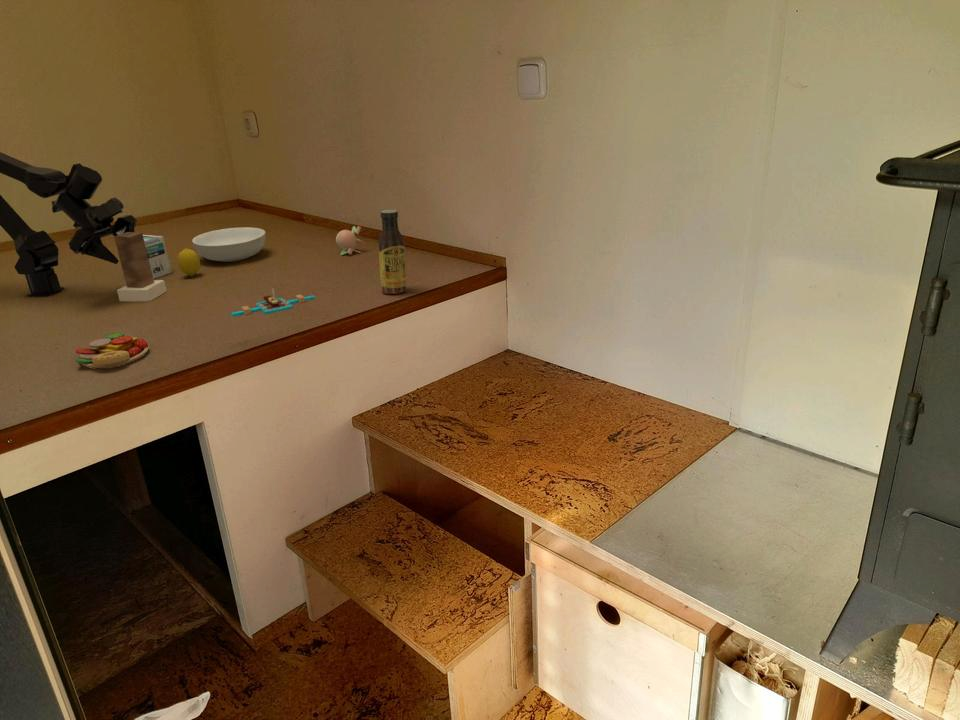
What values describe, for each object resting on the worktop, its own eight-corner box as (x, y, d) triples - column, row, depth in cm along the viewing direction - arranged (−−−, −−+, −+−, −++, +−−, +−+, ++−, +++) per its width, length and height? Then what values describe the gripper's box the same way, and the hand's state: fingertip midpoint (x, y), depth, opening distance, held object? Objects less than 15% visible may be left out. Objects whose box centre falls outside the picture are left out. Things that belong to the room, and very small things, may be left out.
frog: (371, 234, 207) (359, 233, 213) (350, 220, 202) (338, 219, 207) (358, 263, 206) (345, 262, 211) (336, 250, 200) (324, 249, 206)
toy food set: (111, 376, 132) (107, 360, 131) (62, 368, 137) (57, 353, 135) (164, 349, 143) (160, 335, 142) (116, 343, 148) (112, 329, 147)
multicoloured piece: (226, 312, 164) (236, 323, 157) (222, 290, 162) (232, 300, 155) (307, 294, 174) (320, 304, 167) (304, 274, 172) (317, 282, 164)
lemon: (195, 279, 188) (189, 251, 185) (177, 279, 189) (170, 250, 186) (206, 273, 193) (200, 245, 190) (188, 273, 194) (182, 245, 191)
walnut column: (127, 287, 174) (113, 236, 169) (139, 282, 178) (126, 232, 173) (142, 288, 173) (129, 236, 168) (154, 282, 177) (142, 232, 172)
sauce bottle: (387, 297, 167) (378, 215, 159) (378, 290, 172) (369, 210, 164) (412, 292, 170) (404, 211, 162) (402, 285, 175) (395, 207, 167)
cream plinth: (119, 301, 173) (116, 290, 172) (138, 291, 181) (135, 280, 179) (149, 301, 172) (146, 290, 171) (166, 291, 180) (164, 280, 178)
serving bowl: (181, 265, 203) (176, 242, 200) (229, 247, 221) (225, 225, 218) (237, 270, 196) (233, 246, 193) (283, 250, 213) (279, 228, 210)
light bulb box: (172, 272, 196) (164, 235, 191) (153, 279, 190) (144, 241, 186) (145, 269, 200) (136, 233, 196) (126, 276, 194) (116, 238, 190)
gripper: (65, 196, 159) (118, 245, 161) (121, 182, 175) (169, 226, 177) (47, 229, 164) (98, 276, 166) (103, 212, 180) (149, 255, 182)
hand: (130, 257), depth 173 cm, fingers open, 9 cm apart
